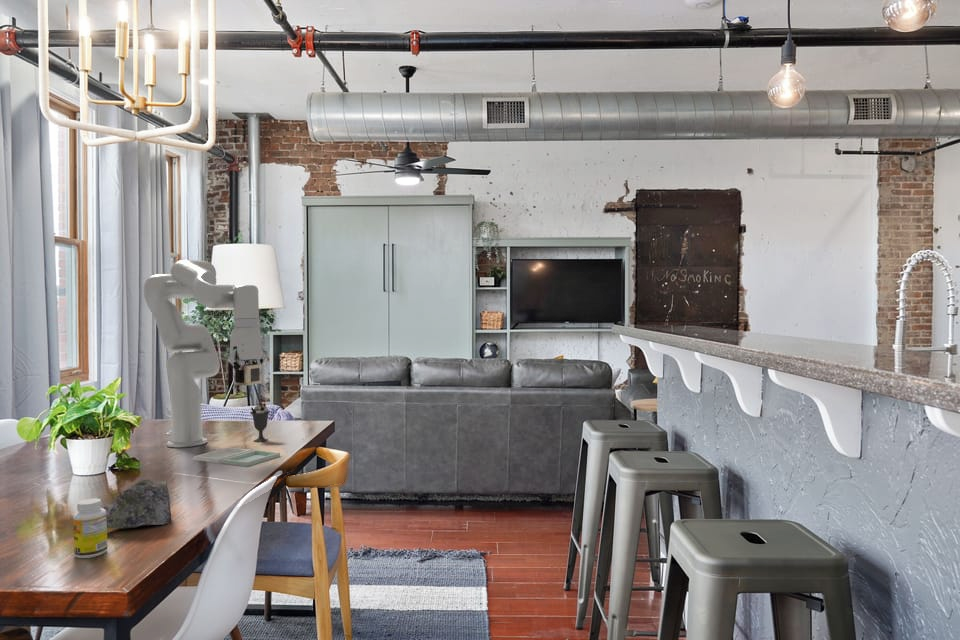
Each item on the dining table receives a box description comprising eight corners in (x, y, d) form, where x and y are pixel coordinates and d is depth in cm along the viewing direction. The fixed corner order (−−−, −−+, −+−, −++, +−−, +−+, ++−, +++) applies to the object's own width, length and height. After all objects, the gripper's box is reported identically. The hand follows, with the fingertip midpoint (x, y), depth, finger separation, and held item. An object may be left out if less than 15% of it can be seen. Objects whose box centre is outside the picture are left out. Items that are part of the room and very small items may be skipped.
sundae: (274, 438, 240) (273, 396, 239) (266, 442, 233) (265, 399, 233) (256, 438, 241) (255, 396, 240) (247, 442, 234) (246, 399, 233)
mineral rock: (94, 534, 142) (93, 486, 141) (123, 517, 152) (121, 473, 152) (155, 533, 141) (154, 486, 141) (179, 517, 152) (178, 473, 152)
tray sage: (221, 464, 202) (221, 459, 202) (255, 454, 214) (255, 450, 214) (247, 467, 197) (246, 462, 197) (280, 457, 210) (280, 452, 210)
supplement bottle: (76, 551, 131) (74, 499, 131) (108, 547, 134) (107, 495, 133) (72, 561, 126) (70, 507, 126) (106, 556, 129) (104, 503, 128)
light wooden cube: (233, 384, 212) (233, 365, 212) (247, 382, 218) (247, 363, 217) (248, 385, 210) (248, 365, 209) (262, 383, 215) (262, 364, 215)
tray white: (193, 461, 207) (193, 456, 207) (228, 451, 219) (228, 447, 219) (217, 464, 202) (217, 459, 202) (251, 454, 215) (251, 449, 215)
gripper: (257, 323, 222) (258, 378, 223) (216, 325, 207) (217, 384, 207) (274, 323, 219) (276, 378, 220) (234, 325, 204) (236, 385, 204)
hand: (247, 380), depth 214 cm, fingers closed on light wooden cube, 5 cm apart
